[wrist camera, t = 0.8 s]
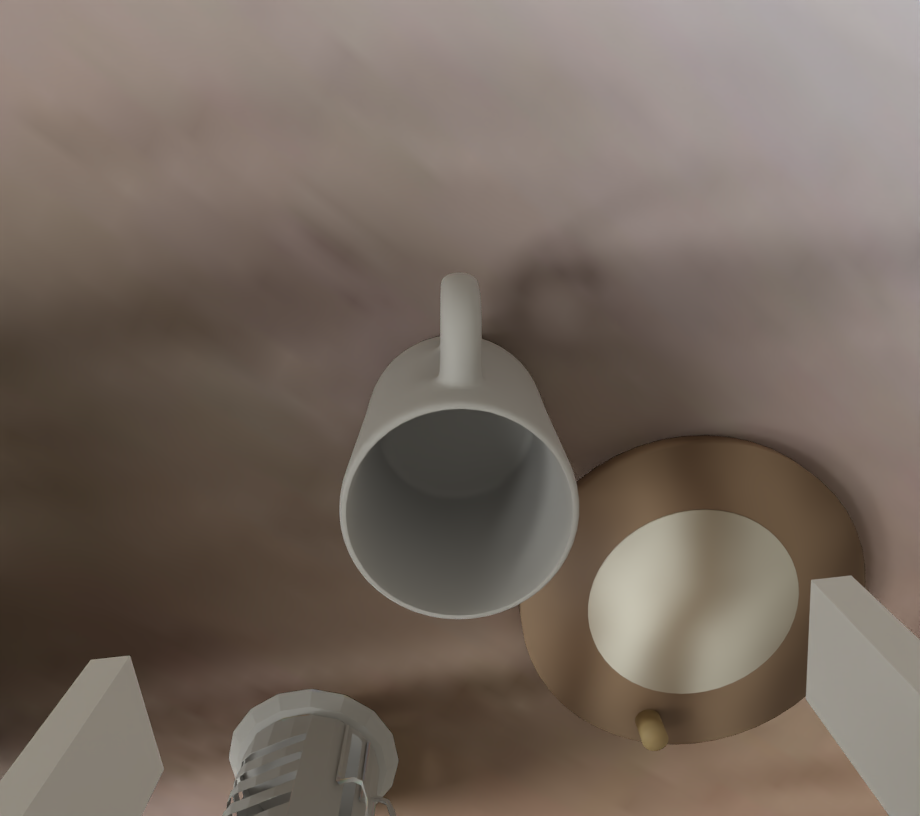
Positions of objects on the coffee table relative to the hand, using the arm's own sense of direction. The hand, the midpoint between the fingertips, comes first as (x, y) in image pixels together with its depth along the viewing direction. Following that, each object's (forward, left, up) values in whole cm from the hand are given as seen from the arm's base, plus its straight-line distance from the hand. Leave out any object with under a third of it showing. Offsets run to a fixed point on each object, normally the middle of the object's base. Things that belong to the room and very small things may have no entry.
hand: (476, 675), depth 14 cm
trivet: (+11, -13, -21) cm, 27 cm away
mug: (0, 0, -22) cm, 22 cm away
